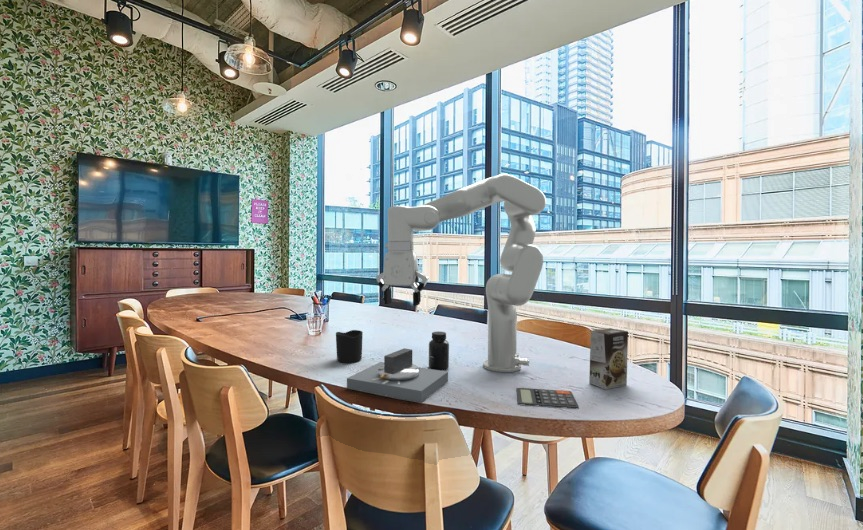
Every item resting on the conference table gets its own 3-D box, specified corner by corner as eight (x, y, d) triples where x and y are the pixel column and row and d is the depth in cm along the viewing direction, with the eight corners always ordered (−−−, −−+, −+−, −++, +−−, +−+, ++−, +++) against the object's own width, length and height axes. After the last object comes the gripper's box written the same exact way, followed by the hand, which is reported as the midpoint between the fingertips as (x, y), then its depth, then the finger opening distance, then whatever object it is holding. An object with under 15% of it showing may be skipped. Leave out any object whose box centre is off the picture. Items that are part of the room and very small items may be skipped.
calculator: (579, 406, 101) (518, 402, 103) (579, 410, 101) (518, 405, 103) (571, 390, 112) (516, 386, 115) (571, 393, 112) (516, 390, 115)
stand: (448, 381, 121) (448, 370, 121) (421, 402, 105) (421, 390, 104) (380, 370, 131) (380, 361, 131) (346, 388, 115) (346, 377, 115)
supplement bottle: (425, 369, 132) (425, 333, 132) (433, 364, 139) (433, 330, 138) (444, 372, 130) (444, 335, 129) (451, 366, 136) (451, 331, 135)
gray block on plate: (394, 365, 126) (394, 345, 126) (426, 371, 120) (426, 350, 119) (364, 378, 113) (364, 356, 113) (398, 386, 107) (398, 362, 107)
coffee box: (606, 390, 114) (608, 334, 113) (588, 383, 119) (589, 329, 118) (627, 385, 118) (629, 331, 117) (609, 378, 123) (610, 327, 123)
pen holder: (341, 356, 149) (341, 329, 148) (366, 357, 148) (365, 330, 147) (331, 363, 140) (331, 335, 139) (357, 364, 138) (357, 335, 138)
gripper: (369, 248, 120) (370, 304, 121) (421, 247, 113) (422, 307, 114) (382, 247, 127) (383, 301, 127) (432, 247, 120) (433, 303, 121)
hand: (402, 304), depth 121 cm, fingers open, 9 cm apart
